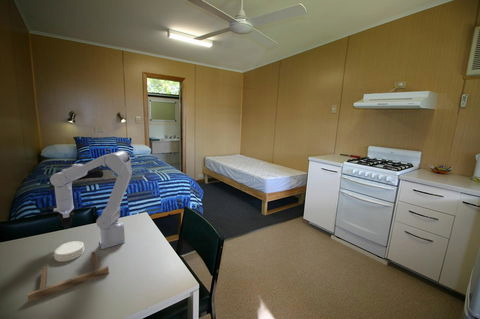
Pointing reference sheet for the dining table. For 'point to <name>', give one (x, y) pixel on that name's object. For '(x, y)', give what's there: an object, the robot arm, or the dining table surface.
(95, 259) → the walnut bay
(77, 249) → the white round dish
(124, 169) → the robot arm
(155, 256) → the dining table surface
